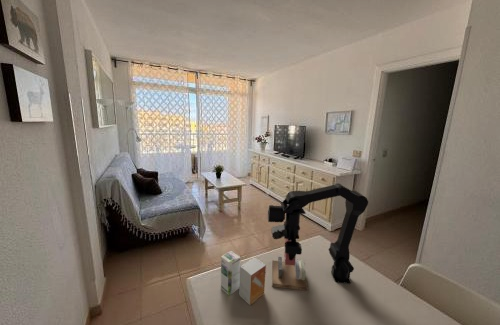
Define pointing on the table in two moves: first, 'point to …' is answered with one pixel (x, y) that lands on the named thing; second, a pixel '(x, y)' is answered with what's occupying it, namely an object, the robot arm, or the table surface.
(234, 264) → the syrup box
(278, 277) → the bookend
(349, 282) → the robot arm
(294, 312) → the table surface
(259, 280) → the small box
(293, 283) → the shelf
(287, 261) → the red flat-faced block
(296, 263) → the shelved books
